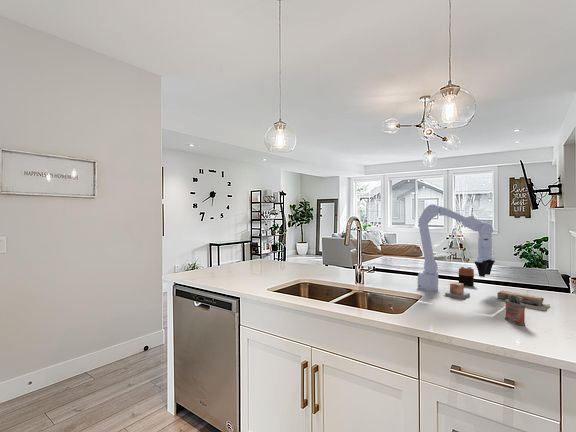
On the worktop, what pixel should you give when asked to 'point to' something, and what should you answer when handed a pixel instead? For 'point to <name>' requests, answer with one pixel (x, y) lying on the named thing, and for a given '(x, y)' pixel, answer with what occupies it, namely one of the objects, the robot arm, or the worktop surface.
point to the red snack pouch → (515, 310)
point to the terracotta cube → (456, 288)
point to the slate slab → (457, 295)
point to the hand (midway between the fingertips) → (484, 275)
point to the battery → (466, 276)
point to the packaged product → (525, 300)
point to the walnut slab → (457, 298)
